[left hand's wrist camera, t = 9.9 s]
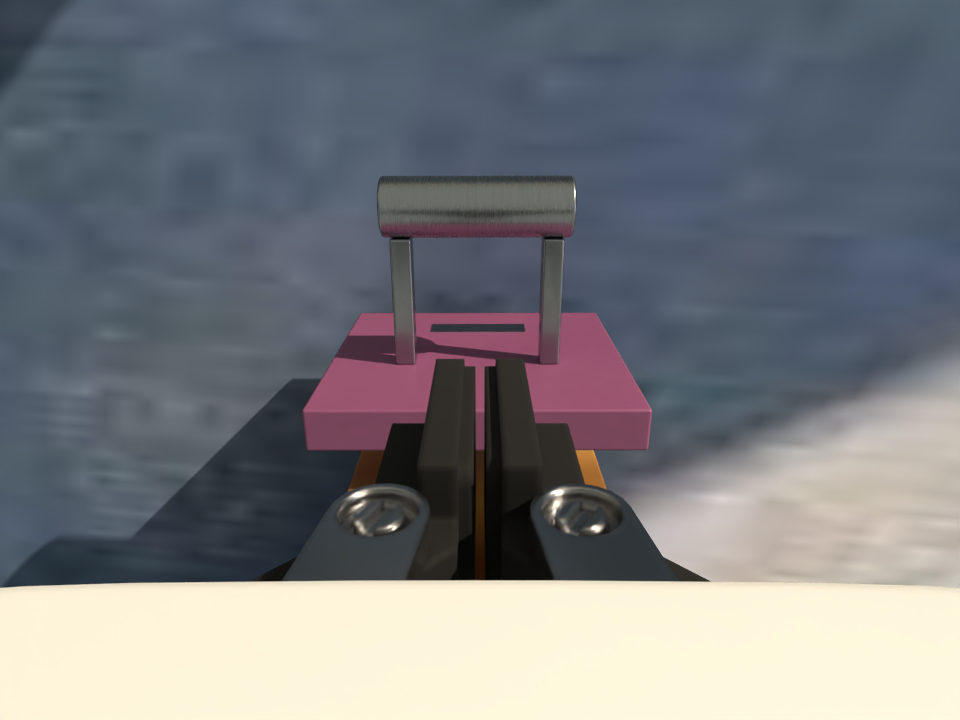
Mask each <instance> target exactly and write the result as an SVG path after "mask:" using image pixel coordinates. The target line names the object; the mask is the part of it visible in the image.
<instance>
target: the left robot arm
mask: <svg viewBox="0 0 960 720" xmlns="http://www.w3.org/2000/svg"><path fill="white" fill-rule="evenodd" d="M475 534H476V370H475V366H465V361H464V359H436V362H435V368H434V373H433V379H432V384H431V390H430V396H429V401H428V407H427V412H426V418H425V423H393V424H392V426H391V429H390V433H389V436H388V440H387V443H386V447H385V450H384V454H383V457H382V461H381V464H380V468H379V471H378V475H377V478H376V482H375V484H373V485H367V486H362V487H359V488H356V489H354V490H351V491H348V492H347V493H345V494H343V495H342V496H340V497H339V498H337V499H336V500H335V501H334V502H333V503H332V504H331V506H330V507H329V508H328V510H327V511H326V513H325V514H324V516H323V517H322V519H321V520H320V522H319V524H318V525H317V527H316V528H315V530H314V531H313V533H312V534H311V536H310V538H309V539H308V541H307V542H306V544H305V545H304V547H303V548H302V550H301V552H300V553H299V555H298V556H297V557H296V558H294V559H292V560H290V561H288V562H286V563H284V564H282V565H280V566H279V567H277V568H275V569H273V570H271V571H269V572H267V573H265V574H263V575H261V576H259V577H257V578H255V579H253V580H251V581H249V582H182V583H115V584H83V585H52V586H21V587H8V588H0V720H960V588H951V587H935V586H913V585H876V584H839V583H794V582H711V581H709V580H707V579H705V578H703V577H701V576H699V575H697V574H695V573H693V572H691V571H689V570H687V569H685V568H683V567H681V566H680V565H678V564H676V563H674V562H672V561H670V560H668V559H666V558H664V557H663V556H662V555H661V553H660V552H659V550H658V548H657V547H656V545H655V544H654V542H653V541H652V539H651V538H650V536H649V534H648V533H647V531H646V530H645V528H644V527H643V525H642V524H641V522H640V520H639V519H638V517H637V516H636V514H635V513H634V511H633V510H632V508H631V507H630V506H629V504H628V503H627V502H626V501H625V500H624V499H623V498H621V497H620V496H618V495H617V494H615V493H613V492H612V491H609V490H606V489H604V488H601V487H598V486H593V485H587V484H585V482H584V478H583V475H582V471H581V468H580V464H579V461H578V457H577V454H576V450H575V447H574V443H573V440H572V436H571V433H570V429H569V426H568V424H567V423H535V418H534V412H533V407H532V401H531V396H530V390H529V384H528V379H527V373H526V368H525V362H524V359H496V361H495V366H485V370H484V534H485V580H475Z"/></svg>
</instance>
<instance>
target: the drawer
mask: <svg viewBox="0 0 960 720" xmlns="http://www.w3.org/2000/svg"><path fill="white" fill-rule="evenodd" d="M576 205H577V195H576V183H575V179H574V177H573V176H382V177H380V179H379V182H378V189H377V213H378V223H379V228H380V232H381V235H382V236H383V237H385V238H391V239H390V241H389V243H390V262H391V280H392V299H393V313H362V314H360V316H359V317H358V319H357V321H356V322H355V324H354V326H353V327H352V329H351V331H350V332H349V334H348V336H347V337H346V339H345V341H344V342H343V344H342V345H341V347H340V349H339V350H338V352H337V354H336V355H335V357H334V359H333V360H332V362H331V364H330V365H329V367H328V369H327V370H326V372H325V374H324V375H323V377H322V379H321V380H320V382H319V384H318V385H317V387H316V389H315V390H314V392H313V394H312V395H311V397H310V399H309V400H308V402H307V404H306V405H305V407H304V409H303V411H302V416H303V424H304V433H305V442H306V449H307V450H309V451H362V452H361V454H360V457H359V460H358V463H357V466H356V469H355V471H354V474H353V477H352V480H351V483H350V486H349V488H348V491H351V490H354V489H356V488H359V487H362V486H367V485H373V484H375V482H376V478H377V475H378V471H379V468H380V464H381V461H382V457H383V454H384V450H385V447H386V443H387V440H388V436H389V433H390V429H391V426H392V424H393V423H425V418H426V412H427V407H428V401H429V396H430V390H431V384H432V379H433V373H434V368H435V362H436V359H464V361H465V366H475V370H476V534H475V580H485V534H484V370H485V366H495V361H496V359H524V362H525V368H526V373H527V379H528V384H529V390H530V396H531V401H532V407H533V412H534V418H535V423H567V424H568V426H569V429H570V433H571V436H572V440H573V443H574V447H575V450H576V454H577V457H578V461H579V464H580V468H581V471H582V475H583V478H584V482H585V484H587V485H593V486H598V487H601V488H604V489H606V486H605V483H604V480H603V477H602V474H601V471H600V468H599V465H598V462H597V459H596V456H595V453H594V450H647V449H648V443H649V434H650V425H651V415H652V410H651V408H650V406H649V405H648V403H647V401H646V399H645V398H644V396H643V394H642V393H641V391H640V389H639V387H638V386H637V384H636V382H635V380H634V379H633V377H632V375H631V374H630V372H629V370H628V368H627V367H626V365H625V363H624V361H623V360H622V358H621V356H620V354H619V353H618V351H617V349H616V348H615V346H614V344H613V342H612V341H611V339H610V337H609V335H608V334H607V332H606V330H605V329H604V327H603V325H602V323H601V322H600V320H599V318H598V316H597V315H596V313H561V310H562V289H563V267H564V246H565V240H564V238H563V237H571V236H572V234H573V232H574V227H575V220H576ZM417 237H542V247H541V277H540V307H539V313H415V288H414V264H413V239H412V238H417ZM606 490H607V489H606ZM348 491H347V492H348Z"/></svg>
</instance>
